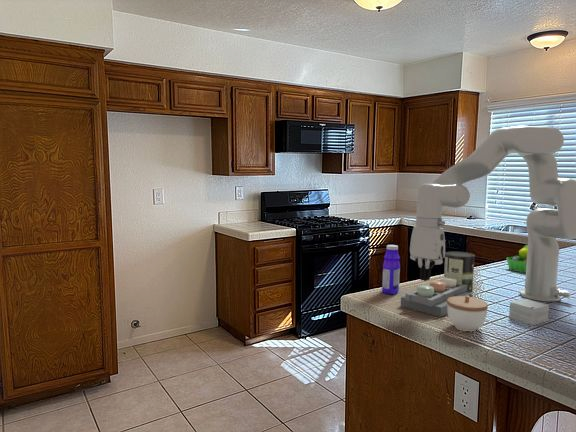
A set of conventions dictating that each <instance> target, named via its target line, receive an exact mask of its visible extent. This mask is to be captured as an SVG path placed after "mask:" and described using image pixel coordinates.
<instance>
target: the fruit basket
mask: <svg viewBox="0 0 576 432" xmlns="http://www.w3.org/2000/svg"><path fill="white" fill-rule="evenodd" d="M527 252H528V244H525V245H524V246H523V247H522V248H521V249H519V250H518V255H515V256H511V257H510V256H508V257H506V259H505V260H506V261H507V265H508V269H509V270H512V269H513V270H514V271H516V270H518V271H517V272H520V271H522V272H521V273H525V272H526V265H527Z"/></svg>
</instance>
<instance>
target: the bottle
mask: <svg viewBox="0 0 576 432" xmlns="http://www.w3.org/2000/svg"><path fill="white" fill-rule="evenodd" d="M385 250H386V251H385V254H384V256H383V258H384V260H383V263H382V283H381V284H382V286H381V289H382V290H381V291H382V293H384V294H387V295H395V294H398V292H399V290H400V272H401V263H400V259H401V257H400V255H399V245H395V244H387V245H386V249H385Z"/></svg>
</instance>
